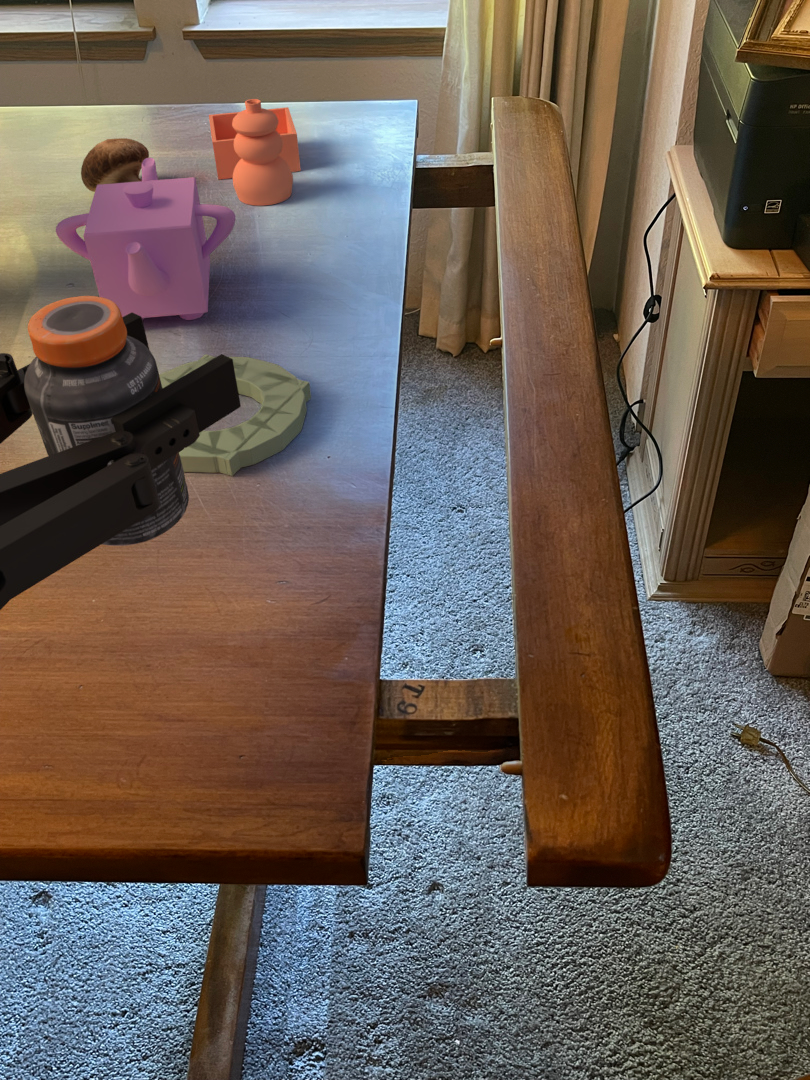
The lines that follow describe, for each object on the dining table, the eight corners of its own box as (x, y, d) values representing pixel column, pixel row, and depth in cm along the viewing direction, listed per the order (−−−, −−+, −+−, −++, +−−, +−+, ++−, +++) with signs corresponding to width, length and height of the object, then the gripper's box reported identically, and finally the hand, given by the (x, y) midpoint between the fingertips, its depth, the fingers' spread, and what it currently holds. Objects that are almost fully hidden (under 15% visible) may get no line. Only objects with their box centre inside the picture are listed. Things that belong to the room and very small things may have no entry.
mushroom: (163, 170, 102) (127, 117, 100) (102, 212, 102) (65, 159, 100) (167, 180, 110) (133, 131, 108) (110, 219, 110) (75, 170, 108)
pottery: (214, 150, 115) (200, 63, 108) (292, 143, 116) (282, 56, 110) (222, 211, 102) (207, 116, 95) (310, 202, 103) (300, 107, 97)
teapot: (54, 304, 88) (18, 188, 80) (169, 253, 95) (146, 142, 88) (156, 360, 80) (127, 238, 73) (272, 300, 87) (257, 183, 80)
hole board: (95, 444, 72) (90, 428, 70) (200, 358, 80) (197, 342, 79) (242, 492, 67) (239, 475, 66) (336, 395, 75) (335, 379, 74)
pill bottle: (95, 472, 51) (34, 280, 44) (203, 476, 51) (159, 282, 43) (56, 548, 47) (-21, 349, 39) (172, 553, 46) (118, 352, 39)
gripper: (-345, 592, 41) (87, 362, 54) (-124, 835, 32) (332, 489, 45) (-456, 456, 36) (50, 237, 49) (-230, 699, 27) (317, 353, 40)
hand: (184, 358), depth 47 cm, fingers closed on pill bottle, 6 cm apart
